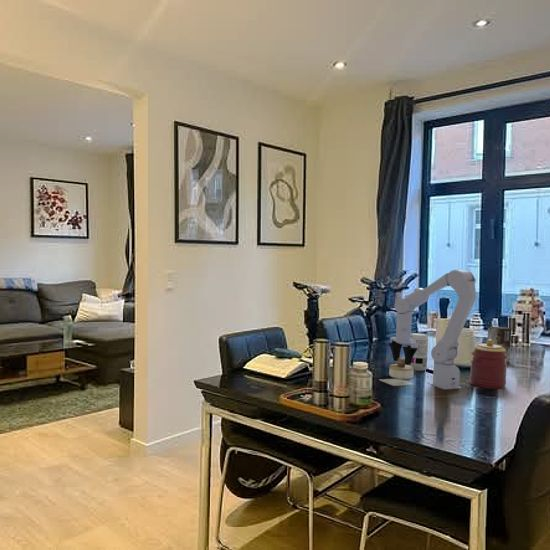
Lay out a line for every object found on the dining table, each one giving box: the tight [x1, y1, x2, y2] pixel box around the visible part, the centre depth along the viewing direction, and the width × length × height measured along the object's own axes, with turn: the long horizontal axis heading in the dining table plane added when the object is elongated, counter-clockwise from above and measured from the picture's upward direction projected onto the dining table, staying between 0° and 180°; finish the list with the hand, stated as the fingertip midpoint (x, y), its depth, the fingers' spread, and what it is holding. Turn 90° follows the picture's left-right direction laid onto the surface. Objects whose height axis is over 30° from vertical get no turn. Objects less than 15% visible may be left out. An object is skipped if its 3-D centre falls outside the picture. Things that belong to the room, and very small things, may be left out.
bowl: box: [388, 368, 415, 380], centre depth 209 cm, size 9×9×4 cm
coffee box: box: [486, 325, 512, 363], centre depth 252 cm, size 9×6×16 cm
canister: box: [469, 339, 508, 390], centre depth 202 cm, size 13×13×18 cm
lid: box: [389, 357, 413, 371], centre depth 209 cm, size 9×9×4 cm
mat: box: [379, 378, 416, 387], centre depth 199 cm, size 10×10×1 cm
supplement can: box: [408, 332, 429, 372], centre depth 225 cm, size 8×8×15 cm
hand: (401, 362), depth 209 cm, fingers open, 7 cm apart
